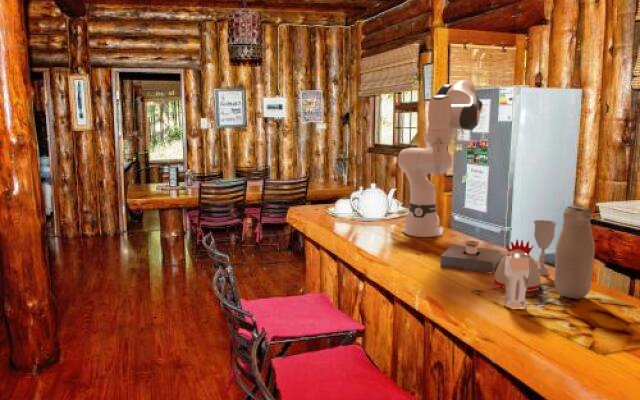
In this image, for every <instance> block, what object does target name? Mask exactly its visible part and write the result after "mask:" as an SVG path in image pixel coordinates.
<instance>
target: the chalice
mask: <svg viewBox="0 0 640 400" xmlns="http://www.w3.org/2000/svg"><path fill="white" fill-rule="evenodd" d="M533 223H534V232H533V233H534V239H535V242H536V244H537V246H538V248H539V249H541V252H540V253H539V256H540V259H539V261H540V264H539V265H537V266H538V267H537V268H538V272H539V274H541V275H540V276H542V275H547V276H549V275H550V272H549V270H548V267H547V266H545V261H546V259H545V257H546V253H545V251H546V250H547V249H549V248H550V245H551V244H552V242H553V241H554V238H555V229H556V225H557V223H558V222H557V221H553V220H544V219H538V220H537V219H536V220H533ZM548 274H549V275H548Z"/></svg>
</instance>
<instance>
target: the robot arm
mask: <svg viewBox="0 0 640 400" xmlns="http://www.w3.org/2000/svg"><path fill="white" fill-rule="evenodd" d="M427 110H428V111H427V120H428V127H427V132H426V133H425V135H424V143H425V145H426V147H424V148H423V147H408V148H404V149H401V150H400V151H399V153H398V155H397V164H398V166H399V168H400V169H401V170H402V171H403V172H404V174H405V176H406V177H407V180H408V182H409V189H410V197H409V198H410V199H409V205H408V213H406V214H405V222H404V228H402V229H401V233H404V234H406V235H408V236H412V237H419V238H431V237H443V234H444V227H443V226H442V227H441V224H440V217H439V215H438V213H437V205H438V204H437V202H436V190H437V189H436V186H435V184H434V183H432V182H431V181H430V180H429V179H428V177H427V174H433V175H434V176H436V177H439V176H440V175H441V174H445V173H448V172H449V171H450V169H451V167H452V165H453V157H452V155H451V153H450V152H449V151H448V146H449V144H451V142H452V141H451V140H452V139H453V137H454V136H455V133H456V131H457V130H464V131H473V130H474V129H476V127H477V126H478V125H479V123H480V115H481V113H482V112H483V102H482V101H481V100H480V99H479V96H478V95H477V94H476V87H475V84H474V83H473V82H472V81H471V80H468V79H461V80H458V81H456V82H455V83H454V84H453V85H452V83H449V84H448V83H447V84H443V85H441V86H440V87H439V88H438V89H437V90H436V92H435V95H432V96H431V97H430V99H429V104H428V109H427Z"/></svg>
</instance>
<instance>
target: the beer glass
mask: <svg viewBox="0 0 640 400" xmlns="http://www.w3.org/2000/svg"><path fill="white" fill-rule="evenodd" d="M505 255H506V257H505V263H504V281H505V289H504V290H505V296H504V301H503V304H505V305H507V306H510V307H516V308H520V307H525V306H526V307H527V303H526V293H527V292H526V289H527V286H528V282H529V277H530V256H529V255H527V254H524V253H515V252H512V253H508V252H507V253H505Z"/></svg>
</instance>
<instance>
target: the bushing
mask: <svg viewBox="0 0 640 400" xmlns="http://www.w3.org/2000/svg"><path fill="white" fill-rule="evenodd" d="M464 244H465V246H466V254H468V255H476V256H477V248H478V246H479V245H480V241H476V240H465V241H464Z"/></svg>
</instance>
